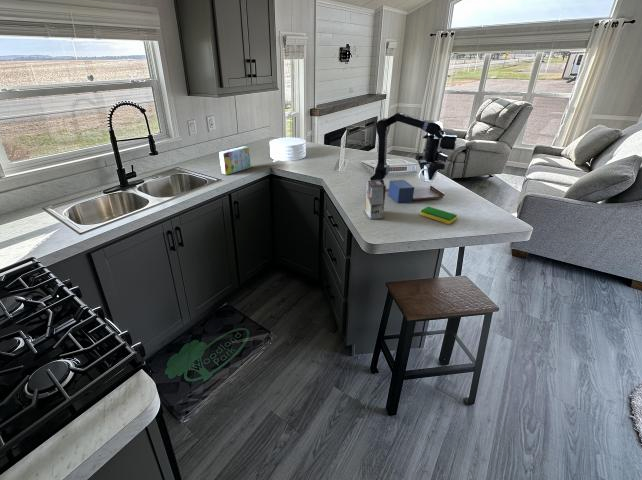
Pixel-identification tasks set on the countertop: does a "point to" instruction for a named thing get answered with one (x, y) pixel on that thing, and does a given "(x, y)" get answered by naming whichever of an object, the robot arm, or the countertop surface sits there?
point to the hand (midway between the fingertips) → (426, 177)
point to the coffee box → (375, 199)
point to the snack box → (234, 160)
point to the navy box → (412, 192)
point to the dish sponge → (438, 215)
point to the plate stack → (287, 149)
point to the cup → (427, 174)
